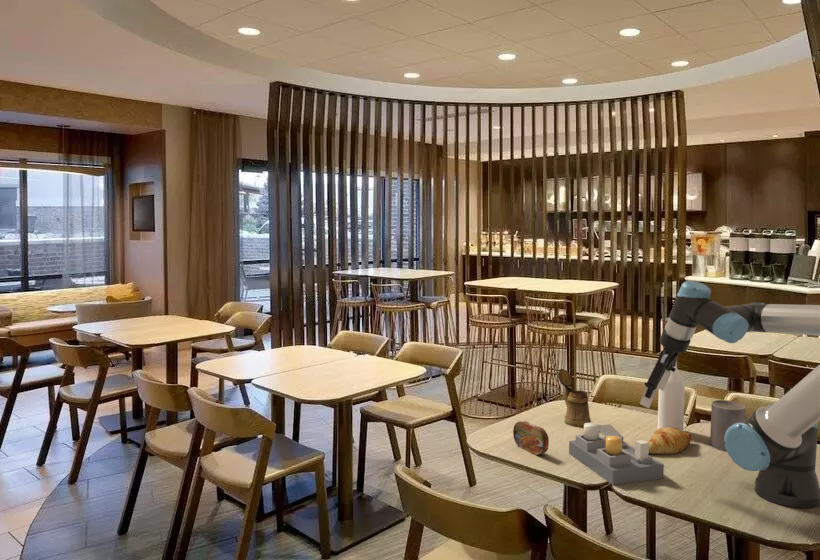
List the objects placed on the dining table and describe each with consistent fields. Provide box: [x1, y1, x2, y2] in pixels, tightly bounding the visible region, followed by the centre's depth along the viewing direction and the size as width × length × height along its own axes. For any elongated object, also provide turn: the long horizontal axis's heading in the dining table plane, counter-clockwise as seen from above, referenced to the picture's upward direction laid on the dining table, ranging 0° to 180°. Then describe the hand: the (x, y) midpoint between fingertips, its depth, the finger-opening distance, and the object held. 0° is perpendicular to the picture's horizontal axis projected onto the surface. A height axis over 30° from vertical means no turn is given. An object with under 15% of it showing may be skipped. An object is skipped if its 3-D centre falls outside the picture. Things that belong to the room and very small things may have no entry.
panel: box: [568, 434, 665, 486], centre depth 185 cm, size 24×16×7 cm, turn 15°
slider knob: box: [634, 439, 650, 460], centre depth 178 cm, size 3×3×5 cm
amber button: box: [606, 436, 622, 455], centre depth 178 cm, size 4×4×4 cm
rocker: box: [599, 424, 625, 442], centre depth 193 cm, size 8×4×2 cm, turn 15°
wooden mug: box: [557, 368, 592, 428], centre depth 225 cm, size 9×14×18 cm, turn 30°
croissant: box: [647, 427, 692, 455], centre depth 198 cm, size 21×10×8 cm
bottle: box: [657, 360, 686, 432], centre depth 213 cm, size 8×8×30 cm
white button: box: [583, 422, 600, 441], centre depth 189 cm, size 4×4×4 cm
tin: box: [512, 420, 550, 456], centre depth 198 cm, size 15×3×8 cm, turn 27°
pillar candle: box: [709, 399, 746, 452], centre depth 199 cm, size 10×10×15 cm
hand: (652, 396), depth 184 cm, fingers open, 13 cm apart
